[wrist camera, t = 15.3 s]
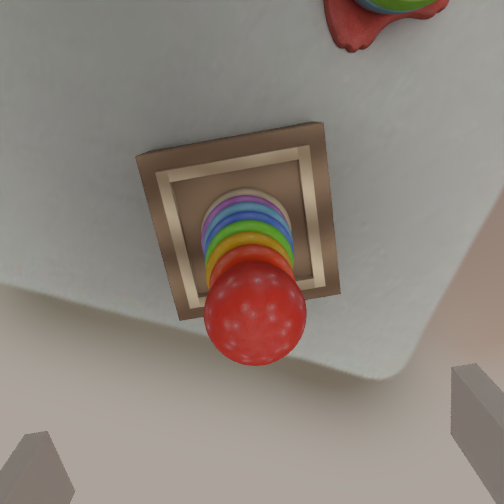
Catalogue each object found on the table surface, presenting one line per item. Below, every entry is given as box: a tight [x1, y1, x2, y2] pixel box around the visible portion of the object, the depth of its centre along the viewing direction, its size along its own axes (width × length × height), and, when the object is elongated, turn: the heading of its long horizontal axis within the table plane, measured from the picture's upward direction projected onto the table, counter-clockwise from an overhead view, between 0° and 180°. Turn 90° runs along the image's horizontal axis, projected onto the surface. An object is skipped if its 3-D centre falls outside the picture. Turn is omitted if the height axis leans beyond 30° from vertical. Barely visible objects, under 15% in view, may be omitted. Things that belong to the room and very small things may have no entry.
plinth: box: [135, 122, 341, 321], centre depth 36 cm, size 16×16×6 cm
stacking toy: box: [201, 188, 306, 366], centre depth 25 cm, size 8×8×19 cm
